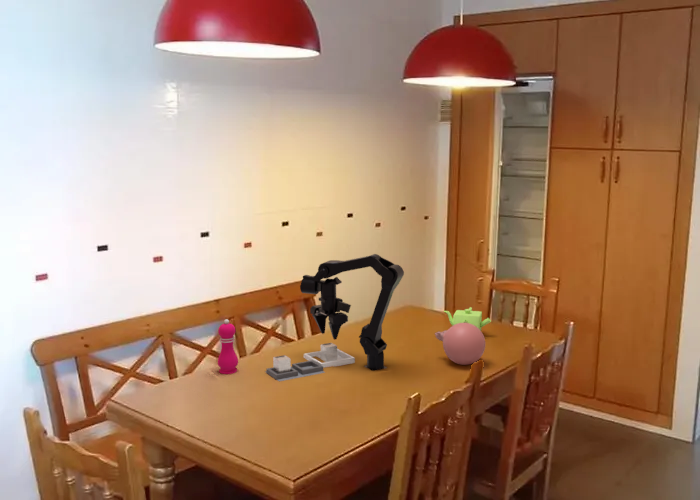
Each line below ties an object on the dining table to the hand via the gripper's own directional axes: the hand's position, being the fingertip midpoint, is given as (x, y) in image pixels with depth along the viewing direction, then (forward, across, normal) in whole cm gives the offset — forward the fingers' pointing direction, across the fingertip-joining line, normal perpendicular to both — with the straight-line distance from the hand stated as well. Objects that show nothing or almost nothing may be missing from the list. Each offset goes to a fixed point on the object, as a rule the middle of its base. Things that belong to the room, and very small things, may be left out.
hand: (329, 336), depth 274 cm
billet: (+9, -6, +22) cm, 25 cm away
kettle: (+10, +2, -67) cm, 68 cm away
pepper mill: (+10, +7, +37) cm, 39 cm away
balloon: (+10, -25, -41) cm, 49 cm away
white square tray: (+10, 0, 0) cm, 10 cm away
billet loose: (+9, 0, 0) cm, 9 cm away
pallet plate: (+10, -6, +17) cm, 21 cm away
